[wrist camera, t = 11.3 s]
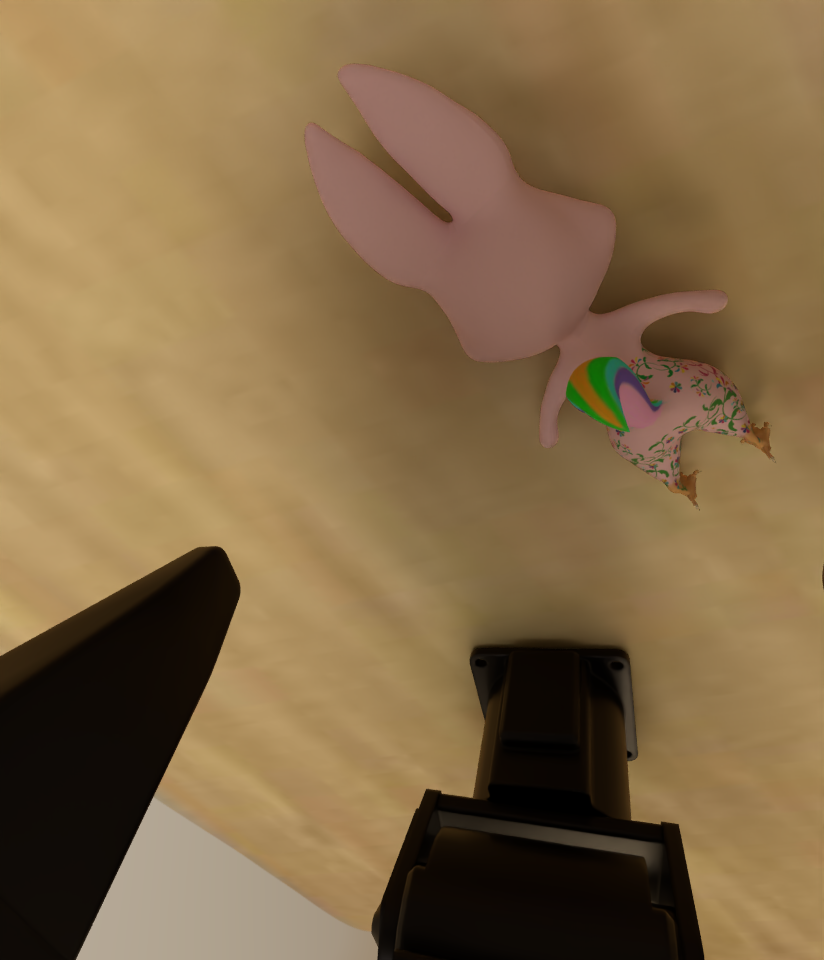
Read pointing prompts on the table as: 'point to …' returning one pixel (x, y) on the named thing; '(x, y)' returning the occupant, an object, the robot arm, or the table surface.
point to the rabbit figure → (519, 272)
